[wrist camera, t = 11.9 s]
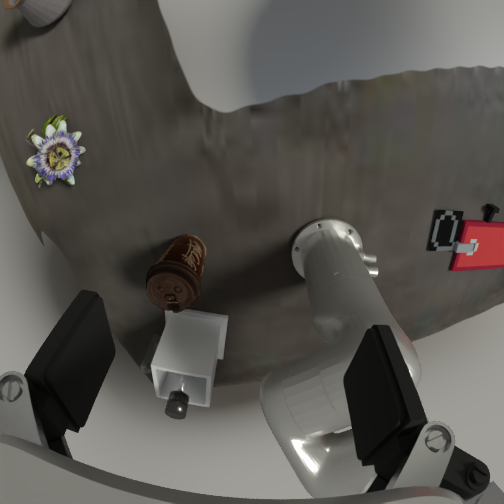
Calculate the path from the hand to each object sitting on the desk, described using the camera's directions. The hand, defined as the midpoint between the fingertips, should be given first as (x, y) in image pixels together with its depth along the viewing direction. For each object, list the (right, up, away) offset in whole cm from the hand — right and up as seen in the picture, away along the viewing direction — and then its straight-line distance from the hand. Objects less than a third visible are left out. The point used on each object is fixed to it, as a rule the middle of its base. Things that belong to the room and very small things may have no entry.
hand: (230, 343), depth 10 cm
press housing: (-12, -14, +52) cm, 55 cm away
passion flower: (-33, +22, +34) cm, 52 cm away
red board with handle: (+49, +7, +39) cm, 63 cm away
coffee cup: (-11, +3, +43) cm, 44 cm away
